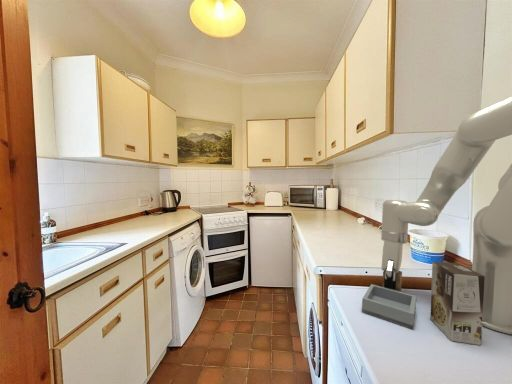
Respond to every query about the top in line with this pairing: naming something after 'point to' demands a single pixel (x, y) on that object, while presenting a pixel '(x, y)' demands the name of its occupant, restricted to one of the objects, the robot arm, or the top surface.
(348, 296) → the top surface
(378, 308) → the tray
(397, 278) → the walnut block
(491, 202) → the robot arm
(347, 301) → the top surface
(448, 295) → the coffee box
